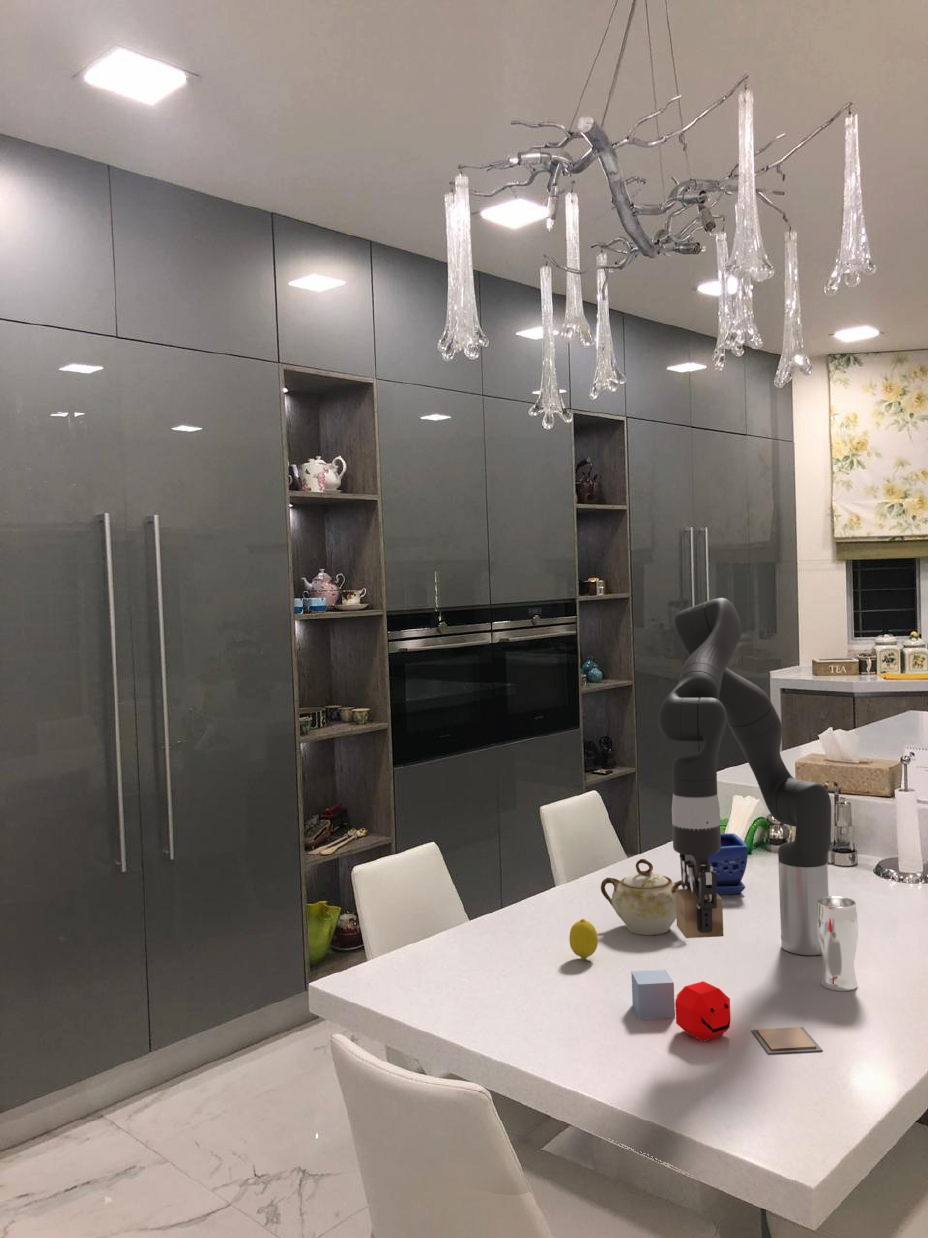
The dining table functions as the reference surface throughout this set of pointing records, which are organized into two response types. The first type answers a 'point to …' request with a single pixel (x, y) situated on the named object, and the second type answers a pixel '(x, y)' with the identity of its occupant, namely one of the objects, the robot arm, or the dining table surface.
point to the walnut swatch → (786, 1040)
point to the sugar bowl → (644, 900)
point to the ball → (703, 1011)
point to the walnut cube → (688, 915)
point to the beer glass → (838, 941)
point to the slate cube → (653, 994)
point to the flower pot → (730, 864)
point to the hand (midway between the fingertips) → (699, 925)
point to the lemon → (583, 939)
